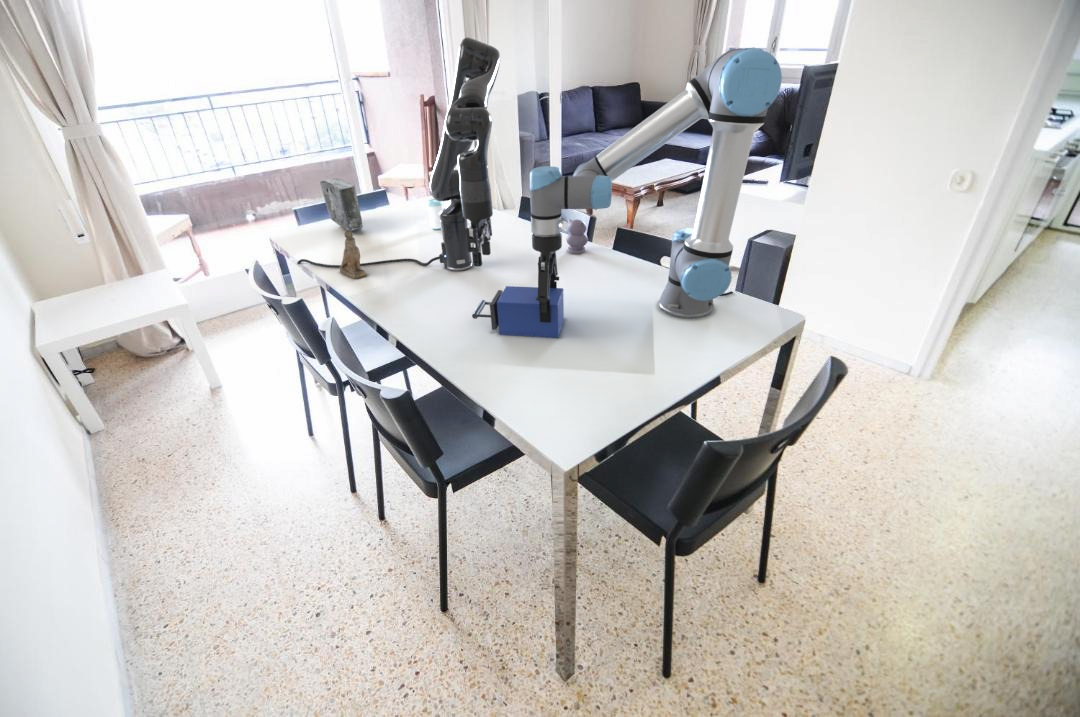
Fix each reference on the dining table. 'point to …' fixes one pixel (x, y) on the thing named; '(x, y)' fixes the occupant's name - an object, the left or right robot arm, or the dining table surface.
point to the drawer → (492, 310)
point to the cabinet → (529, 312)
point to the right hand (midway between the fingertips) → (548, 312)
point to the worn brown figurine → (351, 258)
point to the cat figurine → (576, 236)
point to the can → (435, 213)
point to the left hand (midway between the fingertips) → (482, 260)
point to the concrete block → (342, 203)
